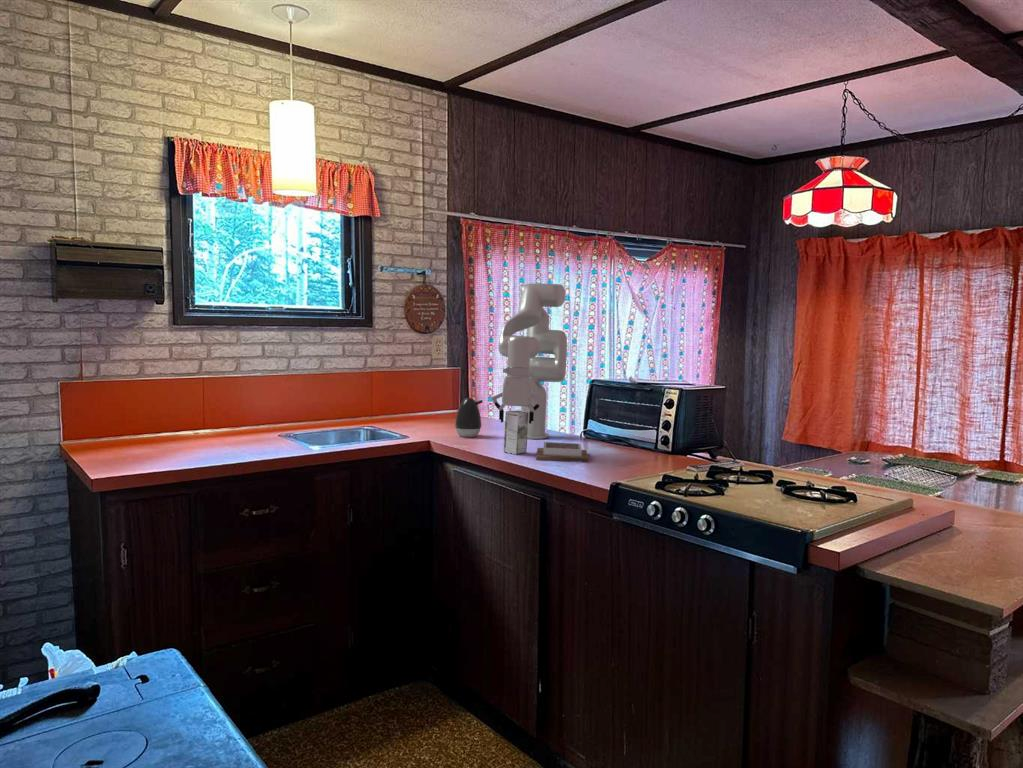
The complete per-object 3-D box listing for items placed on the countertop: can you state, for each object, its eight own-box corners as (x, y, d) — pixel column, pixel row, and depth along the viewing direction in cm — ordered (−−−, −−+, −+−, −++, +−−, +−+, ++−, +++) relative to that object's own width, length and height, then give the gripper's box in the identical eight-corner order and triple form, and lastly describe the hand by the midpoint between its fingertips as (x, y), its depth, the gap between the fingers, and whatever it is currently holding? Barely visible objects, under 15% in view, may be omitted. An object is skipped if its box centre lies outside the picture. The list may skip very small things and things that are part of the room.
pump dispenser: (480, 439, 283) (482, 399, 281) (453, 437, 283) (454, 398, 282) (482, 435, 293) (483, 396, 291) (456, 434, 293) (457, 395, 292)
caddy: (537, 451, 260) (537, 440, 260) (586, 453, 259) (586, 442, 259) (536, 459, 243) (536, 448, 243) (588, 462, 242) (588, 451, 242)
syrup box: (513, 450, 259) (515, 409, 258) (527, 453, 255) (528, 411, 254) (503, 452, 254) (504, 410, 253) (516, 455, 251) (518, 412, 250)
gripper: (492, 372, 249) (490, 422, 250) (543, 374, 248) (541, 425, 249) (493, 371, 257) (491, 420, 258) (543, 373, 256) (541, 422, 257)
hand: (516, 422), depth 253 cm, fingers open, 9 cm apart
